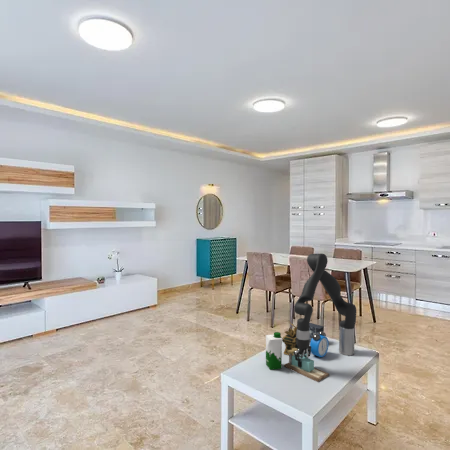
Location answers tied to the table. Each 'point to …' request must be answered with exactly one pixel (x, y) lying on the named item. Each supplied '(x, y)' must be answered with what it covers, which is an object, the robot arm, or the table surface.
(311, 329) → the small box
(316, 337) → the alarm clock
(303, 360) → the teal rectangular prism
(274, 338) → the milk carton
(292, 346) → the decorative box
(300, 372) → the board
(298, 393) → the table surface
